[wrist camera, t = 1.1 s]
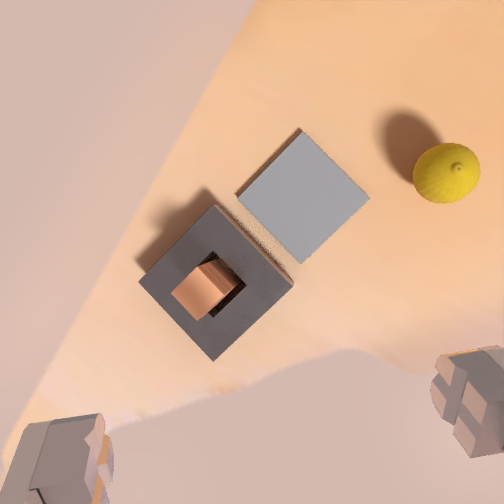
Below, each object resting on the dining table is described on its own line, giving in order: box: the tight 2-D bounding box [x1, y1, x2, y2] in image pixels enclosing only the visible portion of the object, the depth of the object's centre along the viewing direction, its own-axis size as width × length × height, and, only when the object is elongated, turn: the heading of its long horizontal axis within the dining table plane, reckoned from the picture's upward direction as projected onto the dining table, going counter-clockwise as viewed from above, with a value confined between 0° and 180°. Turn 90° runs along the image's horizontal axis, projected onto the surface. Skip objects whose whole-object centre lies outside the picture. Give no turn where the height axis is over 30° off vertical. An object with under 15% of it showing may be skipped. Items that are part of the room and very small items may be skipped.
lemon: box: [413, 143, 480, 204], centre depth 39 cm, size 6×6×8 cm
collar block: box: [139, 204, 294, 361], centre depth 46 cm, size 12×12×3 cm
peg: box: [171, 258, 241, 321], centre depth 43 cm, size 4×4×9 cm
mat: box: [237, 132, 370, 264], centre depth 45 cm, size 10×10×1 cm
